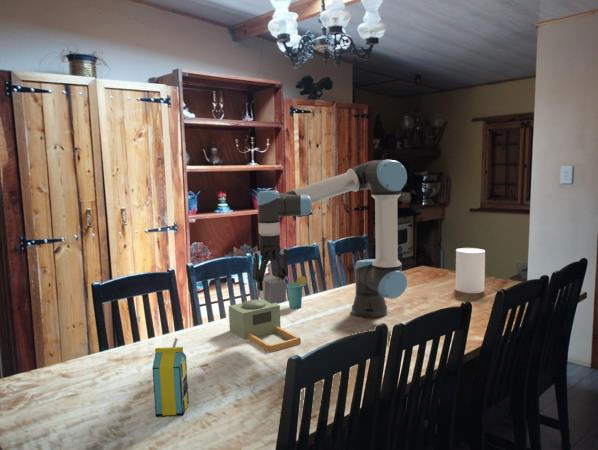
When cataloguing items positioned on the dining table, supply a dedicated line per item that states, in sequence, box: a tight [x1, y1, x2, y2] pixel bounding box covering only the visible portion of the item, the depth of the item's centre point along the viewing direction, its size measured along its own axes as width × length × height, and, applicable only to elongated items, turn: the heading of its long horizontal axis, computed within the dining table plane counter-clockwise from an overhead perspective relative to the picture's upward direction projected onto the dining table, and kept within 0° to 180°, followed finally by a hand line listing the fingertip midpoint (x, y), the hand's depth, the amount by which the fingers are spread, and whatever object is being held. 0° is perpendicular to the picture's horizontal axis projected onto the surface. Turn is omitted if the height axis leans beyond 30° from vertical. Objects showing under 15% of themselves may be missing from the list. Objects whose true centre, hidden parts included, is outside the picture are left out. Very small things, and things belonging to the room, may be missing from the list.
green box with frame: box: [228, 298, 302, 353], centre depth 172 cm, size 16×28×11 cm, turn 34°
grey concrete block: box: [256, 274, 287, 304], centre depth 166 cm, size 6×12×7 cm, turn 29°
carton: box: [152, 337, 189, 418], centre depth 121 cm, size 7×8×18 cm
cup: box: [284, 275, 308, 310], centre depth 206 cm, size 14×8×15 cm, turn 127°
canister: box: [455, 247, 486, 294], centre depth 229 cm, size 14×14×20 cm
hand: (271, 297), depth 166 cm, fingers closed on grey concrete block, 6 cm apart
